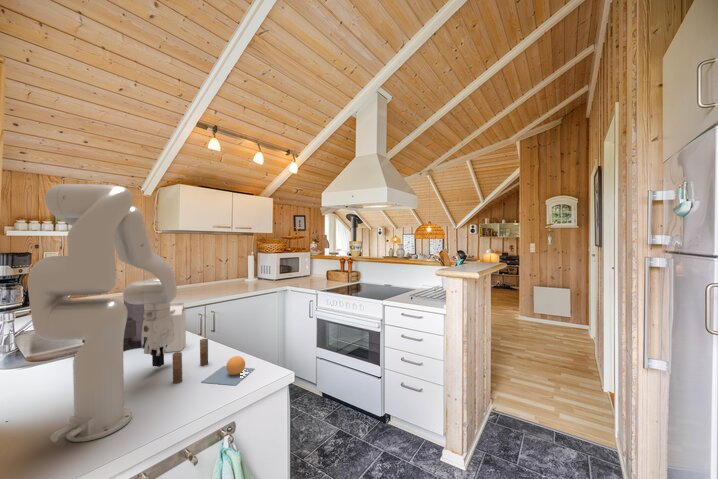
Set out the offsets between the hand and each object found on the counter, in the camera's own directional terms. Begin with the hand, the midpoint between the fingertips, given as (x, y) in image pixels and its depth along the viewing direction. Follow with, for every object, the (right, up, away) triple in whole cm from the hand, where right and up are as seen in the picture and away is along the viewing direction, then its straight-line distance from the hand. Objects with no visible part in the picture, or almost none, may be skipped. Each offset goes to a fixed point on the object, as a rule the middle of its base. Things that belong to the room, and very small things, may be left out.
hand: (158, 365), depth 108 cm
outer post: (+14, -1, +4) cm, 15 cm away
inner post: (+12, -2, -9) cm, 15 cm away
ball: (+29, +1, -4) cm, 29 cm away
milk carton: (-6, -1, +19) cm, 20 cm away
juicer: (-28, -1, +23) cm, 36 cm away
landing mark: (+27, -2, -4) cm, 27 cm away
